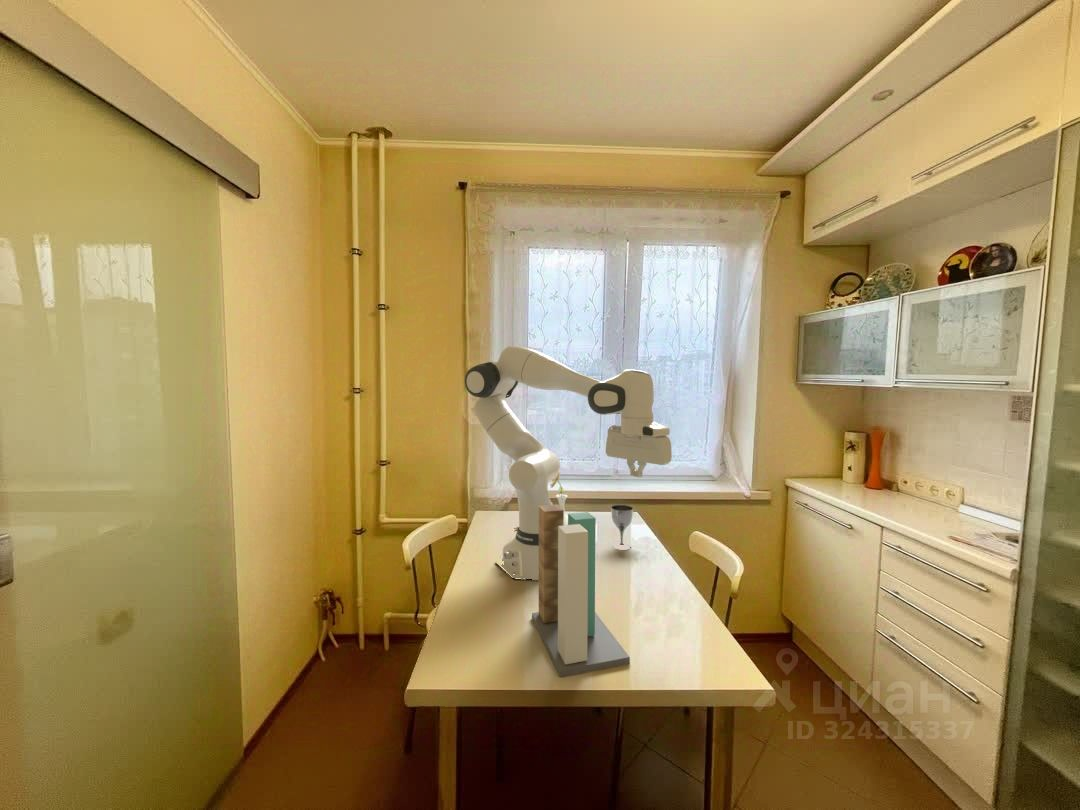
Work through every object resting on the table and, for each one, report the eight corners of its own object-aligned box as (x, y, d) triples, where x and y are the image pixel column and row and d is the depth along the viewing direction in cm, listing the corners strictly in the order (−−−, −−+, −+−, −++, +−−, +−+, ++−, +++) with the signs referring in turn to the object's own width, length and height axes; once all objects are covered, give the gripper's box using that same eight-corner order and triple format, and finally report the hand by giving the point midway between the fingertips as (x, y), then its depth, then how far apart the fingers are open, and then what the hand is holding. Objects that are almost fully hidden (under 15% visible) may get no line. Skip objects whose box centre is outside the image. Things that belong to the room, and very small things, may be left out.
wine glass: (636, 548, 158) (637, 508, 157) (620, 552, 154) (620, 511, 153) (622, 541, 165) (623, 503, 164) (606, 545, 161) (606, 506, 160)
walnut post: (557, 610, 111) (557, 504, 109) (563, 620, 106) (563, 510, 105) (538, 613, 109) (538, 506, 108) (544, 623, 104) (544, 511, 103)
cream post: (578, 646, 95) (579, 524, 94) (587, 660, 90) (588, 531, 89) (557, 650, 94) (558, 526, 93) (565, 664, 89) (565, 533, 88)
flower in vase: (553, 522, 188) (553, 466, 187) (578, 525, 184) (578, 468, 183) (543, 531, 176) (543, 471, 175) (569, 535, 172) (569, 474, 171)
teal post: (586, 623, 104) (587, 511, 103) (594, 635, 99) (595, 518, 98) (567, 627, 103) (568, 513, 102) (574, 638, 98) (575, 519, 97)
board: (589, 609, 114) (589, 604, 114) (629, 663, 92) (629, 657, 92) (532, 618, 110) (532, 613, 110) (559, 677, 88) (559, 670, 88)
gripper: (601, 425, 124) (600, 472, 125) (661, 431, 109) (660, 484, 109) (615, 424, 128) (614, 469, 129) (675, 429, 113) (674, 480, 113)
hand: (636, 476), depth 119 cm, fingers closed
